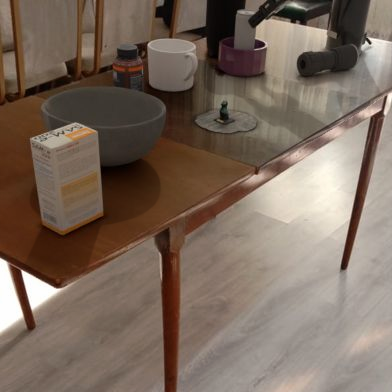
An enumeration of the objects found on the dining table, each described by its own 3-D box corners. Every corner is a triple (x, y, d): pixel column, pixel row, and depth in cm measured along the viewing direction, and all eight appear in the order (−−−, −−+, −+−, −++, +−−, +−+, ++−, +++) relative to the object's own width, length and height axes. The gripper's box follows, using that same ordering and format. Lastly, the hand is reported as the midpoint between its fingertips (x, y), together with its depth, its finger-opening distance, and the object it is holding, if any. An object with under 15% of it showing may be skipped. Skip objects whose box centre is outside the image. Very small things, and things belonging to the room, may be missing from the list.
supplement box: (83, 205, 96) (75, 120, 87) (104, 216, 94) (99, 130, 85) (40, 224, 91) (28, 136, 82) (61, 237, 89) (51, 147, 80)
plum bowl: (234, 60, 156) (236, 33, 152) (273, 69, 151) (276, 42, 147) (209, 70, 149) (210, 43, 145) (249, 81, 144) (252, 53, 140)
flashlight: (307, 79, 146) (310, 55, 143) (293, 73, 150) (296, 48, 146) (356, 71, 153) (361, 47, 149) (341, 64, 156) (345, 41, 153)
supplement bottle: (148, 103, 130) (148, 45, 123) (134, 112, 126) (133, 52, 119) (123, 98, 132) (121, 40, 124) (109, 107, 128) (106, 47, 120)
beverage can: (254, 66, 150) (260, 10, 143) (249, 72, 147) (254, 15, 139) (235, 63, 152) (239, 8, 144) (229, 69, 148) (233, 12, 140)
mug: (138, 81, 140) (137, 43, 135) (174, 73, 146) (175, 36, 140) (176, 99, 133) (177, 59, 127) (213, 90, 138) (215, 51, 133)
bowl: (178, 180, 104) (180, 120, 97) (54, 192, 99) (47, 129, 92) (150, 133, 118) (150, 78, 112) (40, 141, 113) (33, 84, 107)
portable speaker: (199, 51, 160) (203, -38, 147) (232, 49, 163) (239, -39, 150) (212, 61, 154) (217, -31, 141) (246, 58, 157) (254, -32, 144)
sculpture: (190, 130, 121) (195, 90, 121) (198, 146, 130) (202, 108, 130) (252, 134, 119) (257, 92, 119) (255, 150, 128) (259, 111, 128)
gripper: (314, -53, 135) (258, -1, 146) (293, -43, 125) (235, 12, 136) (333, -21, 137) (277, 28, 148) (314, -9, 127) (255, 42, 138)
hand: (257, 20), depth 142 cm, fingers open, 8 cm apart
